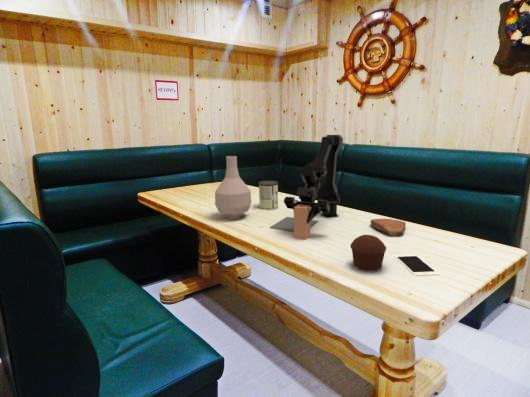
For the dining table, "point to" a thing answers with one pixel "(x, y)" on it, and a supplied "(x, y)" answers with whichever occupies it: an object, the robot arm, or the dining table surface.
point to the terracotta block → (301, 221)
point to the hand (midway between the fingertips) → (301, 222)
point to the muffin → (368, 252)
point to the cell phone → (416, 265)
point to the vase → (232, 192)
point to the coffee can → (268, 195)
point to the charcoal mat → (289, 224)
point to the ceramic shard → (389, 226)
